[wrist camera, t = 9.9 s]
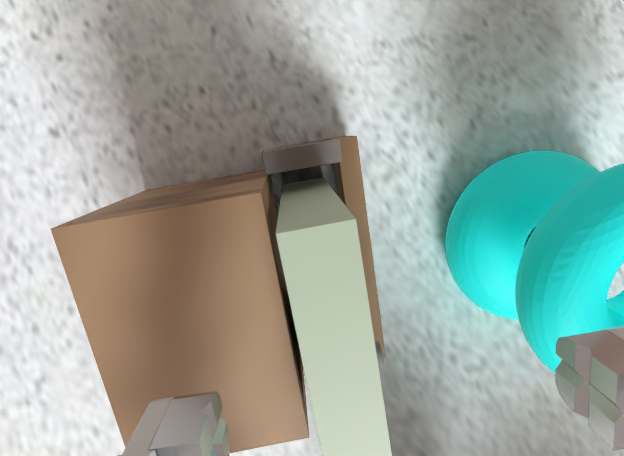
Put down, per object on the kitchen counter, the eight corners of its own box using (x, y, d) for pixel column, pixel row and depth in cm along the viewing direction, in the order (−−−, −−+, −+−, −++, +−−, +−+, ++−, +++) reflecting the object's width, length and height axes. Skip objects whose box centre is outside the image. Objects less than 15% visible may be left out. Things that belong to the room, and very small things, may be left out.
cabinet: (346, 136, 21) (391, 136, 13) (373, 329, 24) (423, 437, 16) (139, 171, 21) (39, 196, 12) (192, 363, 24) (141, 493, 15)
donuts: (595, 456, 15) (507, 250, 13) (474, 332, 25) (411, 201, 23) (827, 339, 15) (781, 104, 13) (613, 259, 25) (563, 118, 22)
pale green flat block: (337, 174, 22) (382, 214, 11) (359, 315, 24) (415, 459, 13) (282, 185, 22) (275, 233, 11) (310, 325, 24) (326, 477, 13)
